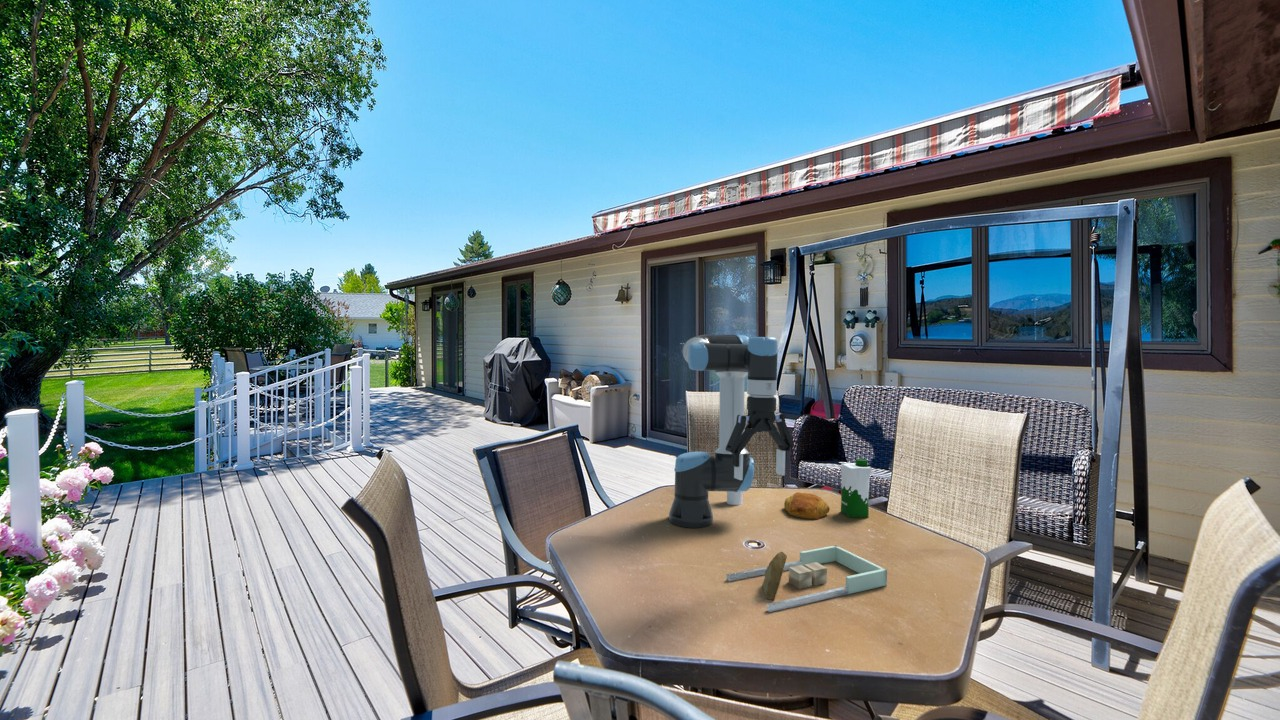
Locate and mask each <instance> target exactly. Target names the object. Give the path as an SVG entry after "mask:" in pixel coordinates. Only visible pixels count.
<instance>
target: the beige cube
mask: <svg viewBox="0 0 1280 720" xmlns="http://www.w3.org/2000/svg"><path fill="white" fill-rule="evenodd" d="M804 567H806V568H807V569H809V570H811V571H812V586H818V585H824V584H827V583H828V581H827V579H828V568H827V567H826V566H824V565H822V564H819V563H817V562H815V563H809V564H804Z"/></svg>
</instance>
